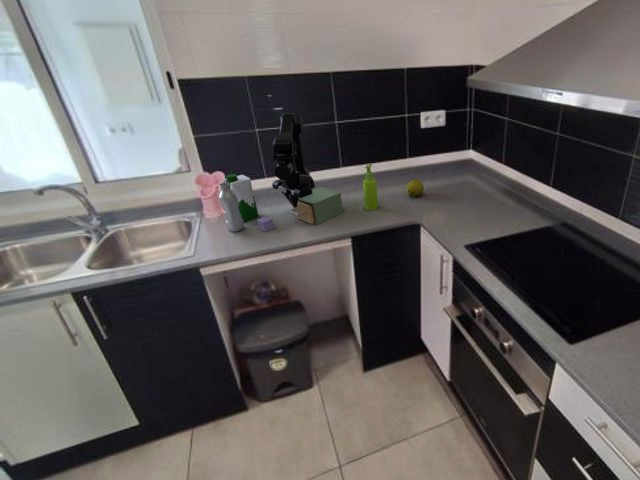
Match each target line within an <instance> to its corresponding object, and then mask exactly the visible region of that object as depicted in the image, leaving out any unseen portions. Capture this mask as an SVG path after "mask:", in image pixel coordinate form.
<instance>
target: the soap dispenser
mask: <svg viewBox="0 0 640 480" xmlns="http://www.w3.org/2000/svg"><path fill="white" fill-rule="evenodd" d="M371 167H373V163H367V164H366V165H365V169H366V172H365V173H364V179H363V180H362V188H363V201H364V208H365V209H364V210H367V211H375V210H377V209H378V208H379V202H378V189H377V188H378V187H377V180H376V179H375V178H374V173H373V172H372V170H371Z"/></svg>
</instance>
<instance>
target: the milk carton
mask: <svg viewBox="0 0 640 480" xmlns="http://www.w3.org/2000/svg"><path fill="white" fill-rule="evenodd" d="M225 177H226V178H224V183H225V182H228V183H229V184H230V187H231V188H230V189H231V190H232V191H234V192H235V194H236V195H237V203H238V208H239V212H240V215H241V217H242V219H243V221H244V223H245V222H248V221H251V220H255V219H257V218H259V212H258V211H259V210H258V206H257V203H256V197H255V195H254V190H253V186H252V180H251V178H250V177H249V176H246V175H245V174H240V175H237V174H236V173H228V174H227V175H225Z"/></svg>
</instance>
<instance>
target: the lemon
mask: <svg viewBox="0 0 640 480" xmlns="http://www.w3.org/2000/svg"><path fill="white" fill-rule="evenodd" d="M424 188H425V185H424V183H423V182H422V181H421V180H419V179H412V180H410V181H409V182H408V183H407V186H406V189H405V190H406V192H407V194H408V195H409V196H411V197H418V196H421V195H422V194H423V192H424V190H425V189H424Z"/></svg>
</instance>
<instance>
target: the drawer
mask: <svg viewBox="0 0 640 480" xmlns="http://www.w3.org/2000/svg"><path fill="white" fill-rule="evenodd" d="M286 213H288V214H290V215H293V216H294V218H297V219H298V220H301V221H303V222H306V223H308V224H311V225H313V224H315V223H314V220H315V214H314V208H313V205H312V204H309V203H307V202H304V201H301V200H299V199H298V204H297V207H296V208H294V207H293V206H292V209H287V211H286Z"/></svg>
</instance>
